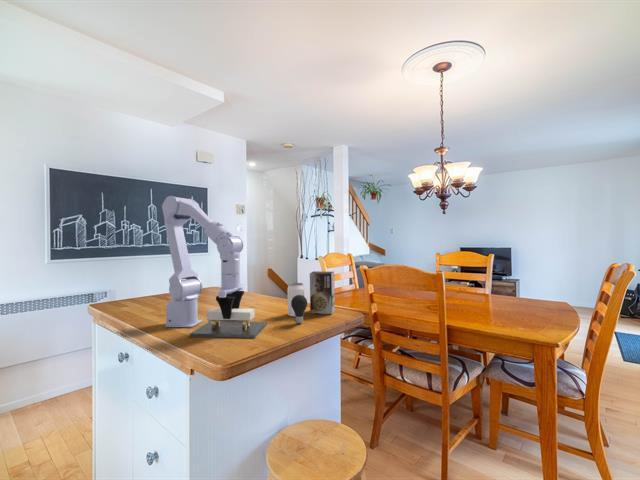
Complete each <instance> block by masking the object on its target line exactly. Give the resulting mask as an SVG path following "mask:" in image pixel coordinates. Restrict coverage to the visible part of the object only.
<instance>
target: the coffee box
mask: <svg viewBox="0 0 640 480" xmlns="http://www.w3.org/2000/svg"><path fill="white" fill-rule="evenodd" d="M335 300H336V299H335V271H323V270H322V271H321V270H320V271H314V270H313V271H311V272H309V307H310V308H309V310H310V311H309V313H310V314H315V313H319V315H333V313H334V312H336V305H335V303H336V301H335Z"/></svg>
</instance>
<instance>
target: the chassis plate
mask: <svg viewBox="0 0 640 480" xmlns="http://www.w3.org/2000/svg"><path fill="white" fill-rule="evenodd" d="M267 325H268V323H267V321H251V320H208V321H207V322H206V323H205V324H203V325H202V326H201V325H200V327H198V328H196V329H195V330H194V331H192V332H190V333H189V337H190V338H222V339H223V338H227V339H228V338H231V339H232V338H233V339H234V338H237V339H256V338H257V337H258V335H260V333H261V332H262V331H263V330H264V329H265V327H266V326H267Z"/></svg>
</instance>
